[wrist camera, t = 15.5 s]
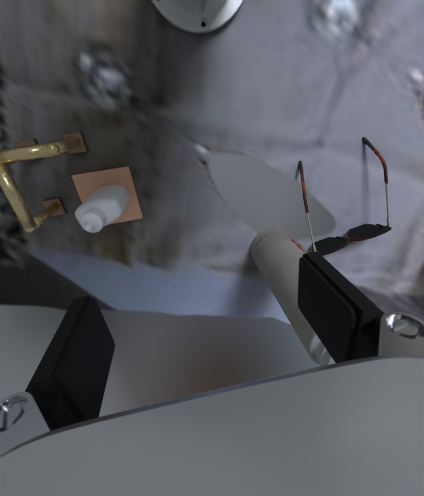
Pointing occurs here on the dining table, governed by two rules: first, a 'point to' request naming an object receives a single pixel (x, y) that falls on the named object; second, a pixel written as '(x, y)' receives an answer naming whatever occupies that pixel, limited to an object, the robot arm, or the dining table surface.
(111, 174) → the terracotta tile
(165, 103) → the dining table surface
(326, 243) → the sunglasses
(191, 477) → the robot arm
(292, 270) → the thermos bottle
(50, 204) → the bent handrail
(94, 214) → the eye dropper bottle
